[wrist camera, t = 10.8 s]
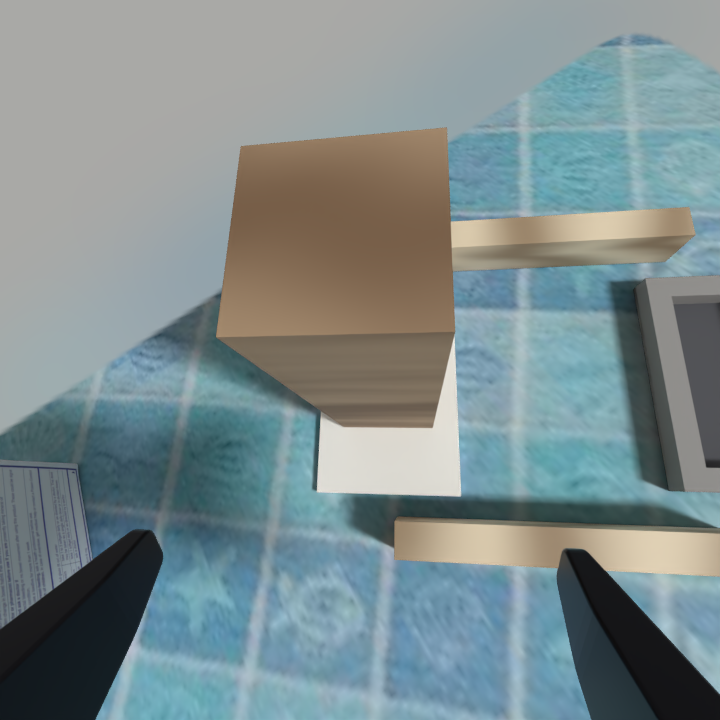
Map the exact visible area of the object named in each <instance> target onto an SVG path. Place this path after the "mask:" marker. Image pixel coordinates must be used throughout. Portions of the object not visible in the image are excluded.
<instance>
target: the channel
mask: <svg viewBox="0 0 720 720" xmlns="http://www.w3.org/2000/svg"><path fill="white" fill-rule="evenodd" d="M694 236H695V230H694V226H693V222H692V217H691V213H690V208H689V207H683V208H667V209H651V210H634V211H618V212H602V213H586V214H569V215H553V216H537V217H521V218H504V219H488V220H472V221H456V222H451V242H452V267H453V271H472V270H494V269H516V268H538V267H560V266H583V265H605V264H627V263H649V262H666V261H667V260H668V259H669V258H670V257H671V256H672V255H673V254H675V253H676V252H677V251H678V250H679V249H680V248H681V247H682V246H684V245H685V244H686V243H687V242H688V241H689V240H690V239H691V238H692V237H694ZM565 548H576V549H584V550H586V551H587V552H588V553H589V554H590V555H591V556H592V557H593V558H594V559H595V560H596V561H597V562H598V563H599V564H600V566H601V567H602V568H603V569H604V570H605V571H623V572H642V573H662V574H681V575H700V576H720V528H698V527H671V526H644V525H617V524H590V523H563V522H536V521H509V520H482V519H455V518H428V517H401V516H397V518H396V520H395V525H394V560H410V561H430V562H449V563H468V564H488V565H507V566H526V567H546V568H558V566H559V561H560V557H561V553H562V550H563V549H565Z"/></svg>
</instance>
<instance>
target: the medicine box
mask: <svg viewBox="0 0 720 720" xmlns="http://www.w3.org/2000/svg"><path fill="white" fill-rule="evenodd" d="M92 560H93V559H92V553H91V547H90V540H89V534H88V528H87V522H86V517H85V510H84V504H83V498H82V492H81V486H80V480H79V474H78V464H76V463H56V462H32V461H14V460H0V629H1V628H2V627H4V626H5V625H6V624H8V623H9V622H10V621H12V620H13V619H14V618H16V617H17V616H18V615H20V614H21V613H22V612H24V611H25V610H26V609H28V608H29V607H30V606H32V605H33V604H34V603H36V602H37V601H38V600H40V599H41V598H42V597H44V596H45V595H46V594H48V593H49V592H50V591H52V590H53V589H54V588H56V587H57V586H58V585H60V584H61V583H62V582H64V581H65V580H66V579H68V578H69V577H70V576H72V575H73V574H74V573H76V572H77V571H78V570H80V569H81V568H82V567H84V566H85V565H86V564H88V563H89V562H90V561H92Z"/></svg>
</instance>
